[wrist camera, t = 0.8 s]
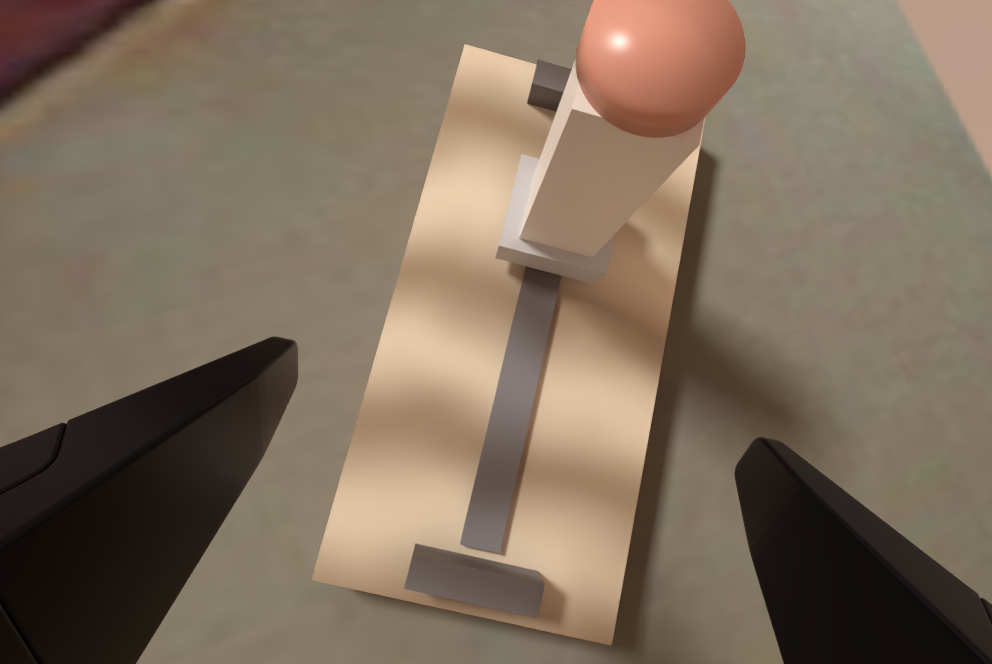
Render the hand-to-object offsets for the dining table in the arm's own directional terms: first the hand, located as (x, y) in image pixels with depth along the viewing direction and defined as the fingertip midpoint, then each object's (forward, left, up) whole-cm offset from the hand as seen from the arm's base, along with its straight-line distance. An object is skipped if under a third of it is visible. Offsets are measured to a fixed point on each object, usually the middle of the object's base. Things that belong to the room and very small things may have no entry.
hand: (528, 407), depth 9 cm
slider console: (+3, -3, -13) cm, 13 cm away
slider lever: (+6, -5, -10) cm, 13 cm away
